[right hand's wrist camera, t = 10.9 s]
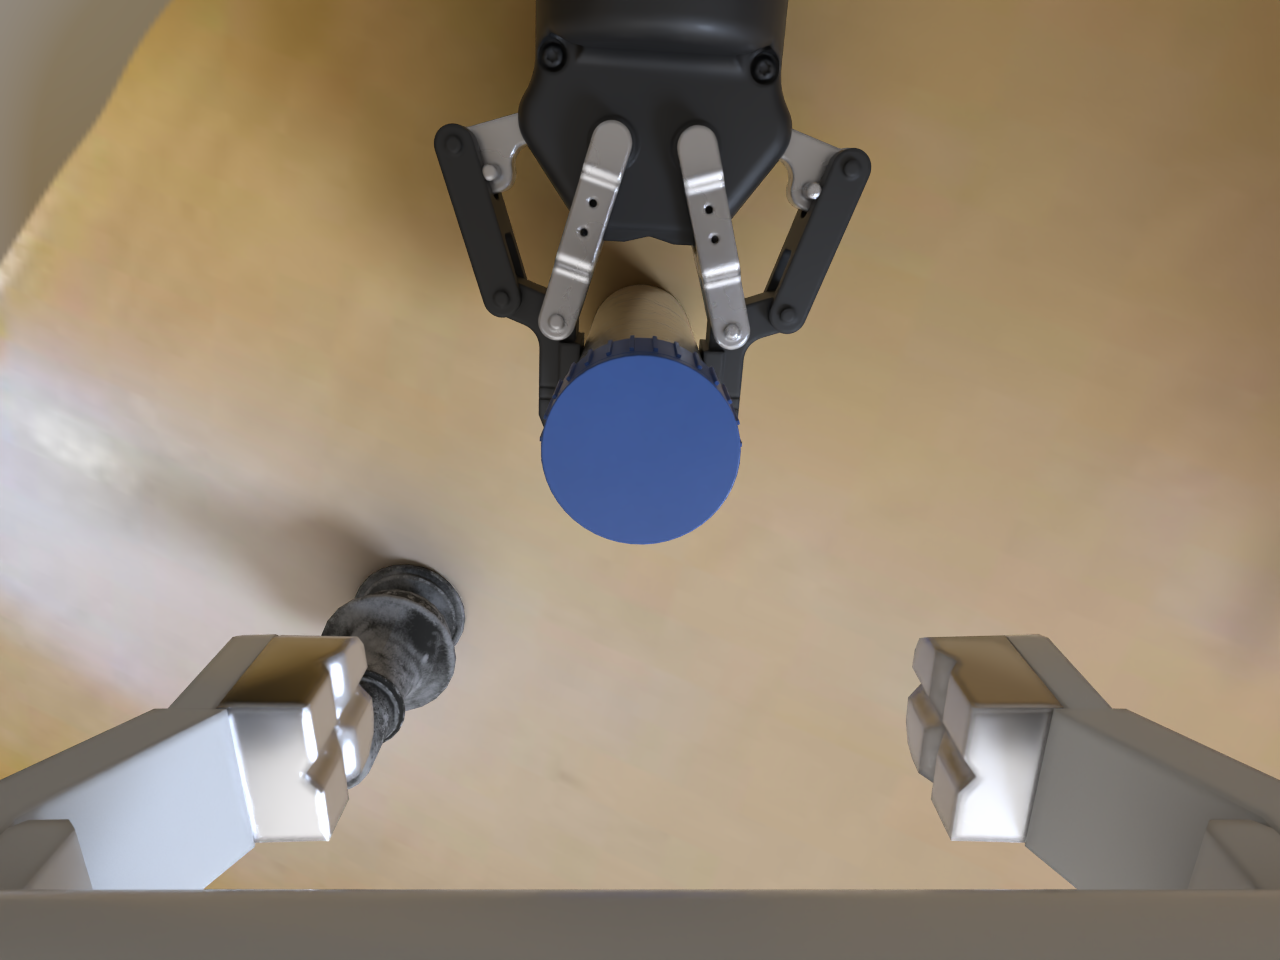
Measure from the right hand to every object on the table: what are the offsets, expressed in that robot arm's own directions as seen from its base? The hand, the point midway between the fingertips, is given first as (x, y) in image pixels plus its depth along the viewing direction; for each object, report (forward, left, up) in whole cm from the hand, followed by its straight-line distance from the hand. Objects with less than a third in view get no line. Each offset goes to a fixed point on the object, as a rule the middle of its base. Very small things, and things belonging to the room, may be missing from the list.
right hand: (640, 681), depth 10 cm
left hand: (-3, +1, -19) cm, 19 cm away
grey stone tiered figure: (-10, +14, -25) cm, 31 cm away
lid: (0, 0, -10) cm, 10 cm away
